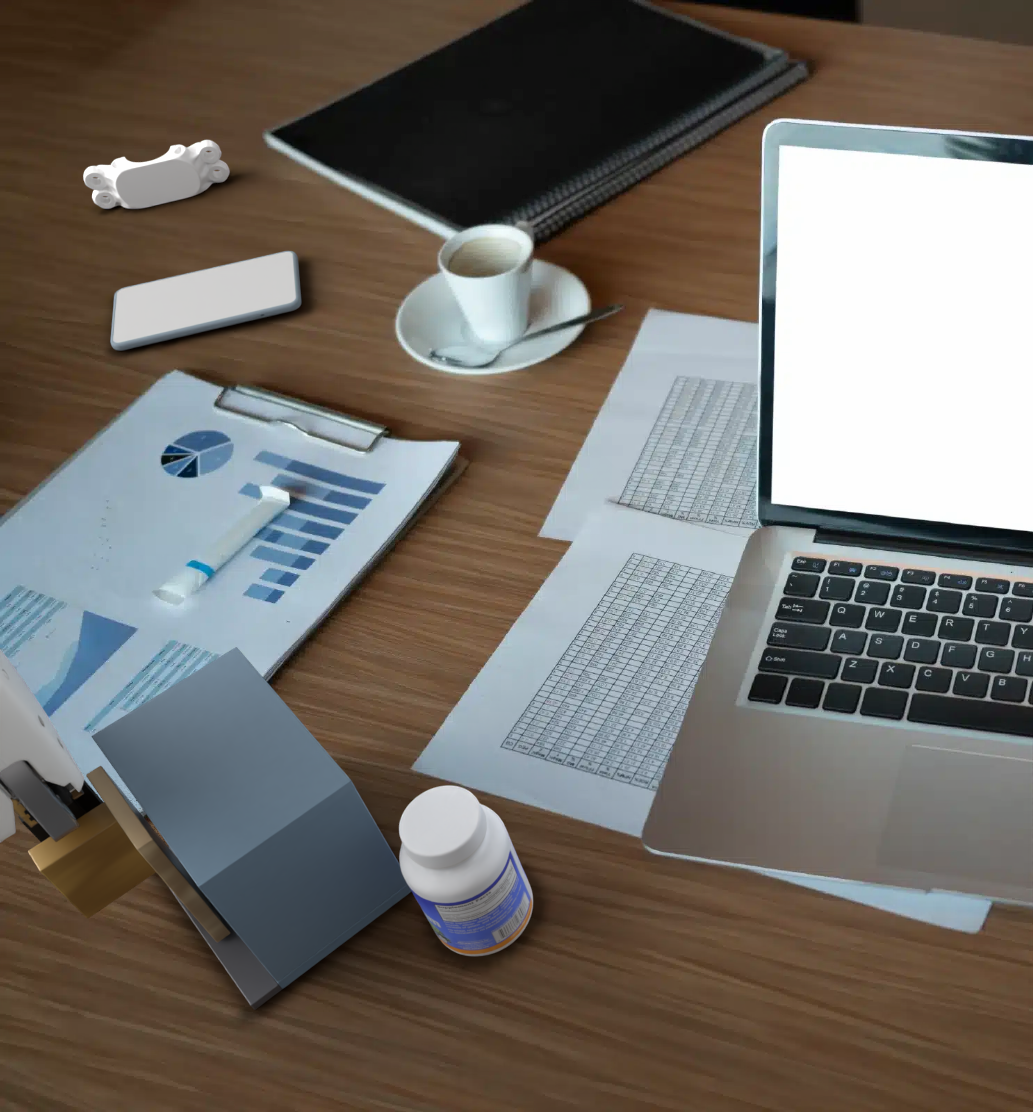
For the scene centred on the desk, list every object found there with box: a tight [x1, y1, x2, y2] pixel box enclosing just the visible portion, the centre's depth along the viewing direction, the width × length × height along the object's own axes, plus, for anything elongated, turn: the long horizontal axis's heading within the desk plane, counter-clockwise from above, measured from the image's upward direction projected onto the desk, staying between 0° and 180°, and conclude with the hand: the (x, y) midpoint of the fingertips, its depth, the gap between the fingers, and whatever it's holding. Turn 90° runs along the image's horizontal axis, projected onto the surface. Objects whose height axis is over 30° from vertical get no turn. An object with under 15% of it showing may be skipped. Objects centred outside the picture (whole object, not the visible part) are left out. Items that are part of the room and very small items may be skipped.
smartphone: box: [109, 250, 302, 351], centre depth 109 cm, size 8×1×15 cm
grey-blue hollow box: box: [91, 646, 412, 1010], centre depth 69 cm, size 10×12×11 cm
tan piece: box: [27, 765, 230, 942], centre depth 67 cm, size 5×6×10 cm
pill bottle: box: [398, 784, 534, 957], centre depth 67 cm, size 5×5×10 cm
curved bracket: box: [82, 139, 231, 210], centre depth 120 cm, size 12×2×4 cm, turn 112°
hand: (83, 833), depth 69 cm, fingers closed
